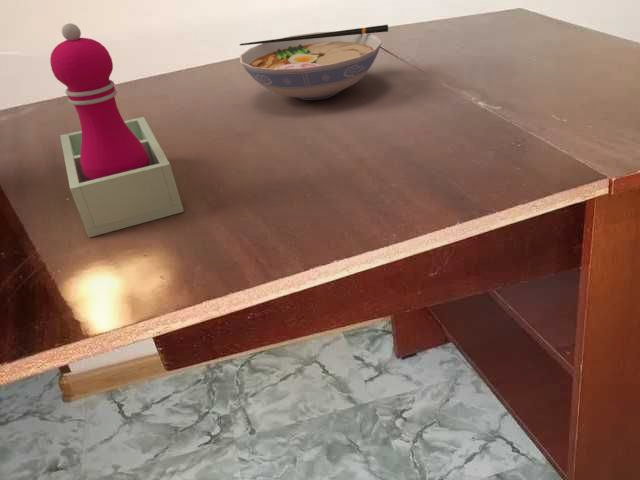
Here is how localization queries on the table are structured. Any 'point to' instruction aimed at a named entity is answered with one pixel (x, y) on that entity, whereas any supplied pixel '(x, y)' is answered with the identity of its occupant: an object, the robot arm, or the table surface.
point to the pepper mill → (96, 106)
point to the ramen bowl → (313, 61)
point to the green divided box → (122, 186)
